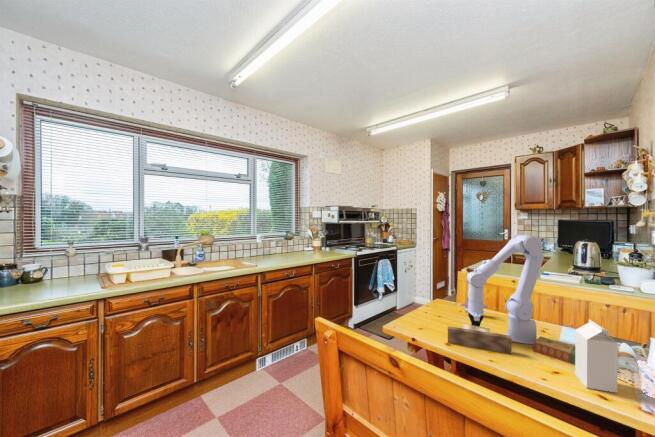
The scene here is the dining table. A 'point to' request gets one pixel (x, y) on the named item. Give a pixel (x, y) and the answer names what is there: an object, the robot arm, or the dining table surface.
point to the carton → (555, 350)
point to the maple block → (475, 328)
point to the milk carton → (596, 357)
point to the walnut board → (480, 339)
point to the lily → (467, 304)
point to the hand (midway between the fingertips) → (475, 331)
